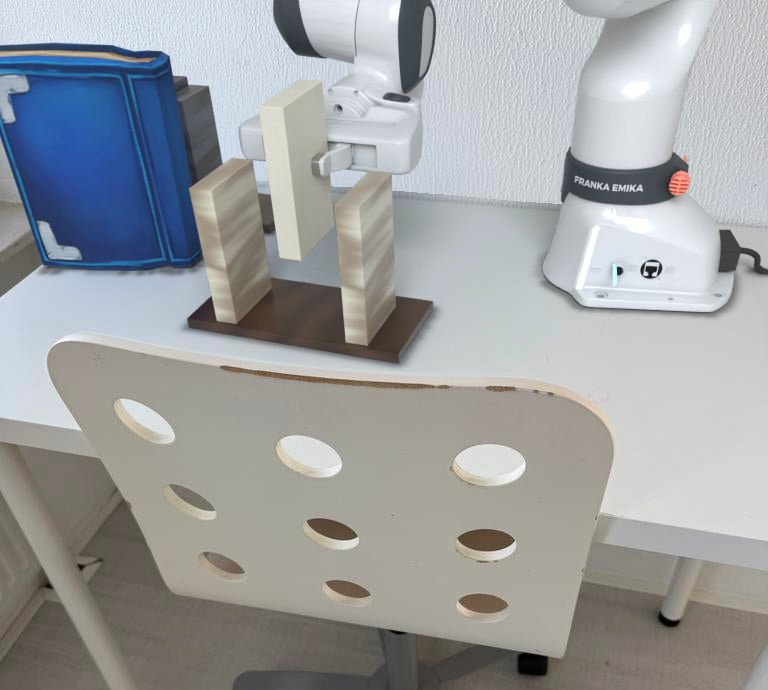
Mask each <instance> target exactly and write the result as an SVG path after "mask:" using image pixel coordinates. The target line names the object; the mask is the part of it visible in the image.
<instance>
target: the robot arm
mask: <svg viewBox="0 0 768 690" xmlns="http://www.w3.org/2000/svg"><path fill="white" fill-rule="evenodd" d="M562 2H563V3H564V4H565V5H566V6H567V7H568V8H569V9H570V10H571V11H573V12H575V13H576V14H578V15H581V16H583V17H590V18H597V19H605V21H604V23H603V26H602V29H601V32H600V34H599V37H598V39H597V41H596V42H595V46H594V48H593V49H592V51H591V53H590V54H589V56H588V58H587V59H586V61H585V63H584V64H583V66H582V69H581V71H580V74H579V77H578V82H577V83H578V84H577V91H576V100H575V108H574V116H573V125H572V133H571V140H570V141H571V142H570V143H571V144H570V146H569V147H568V149H567V151H566V153H565V157H564V160H563V164H562V165H563V166H562V173H561V182H560V201H561V206H560V210H559V214H558V219H557V222H556V226H555V231H554V234H553V237H552V240H551V243H550V246H549V249H548V251H547V254H546V255H545V258H544V261H543V263H542V273H543V275H544V276H545V278H546V279H547V280H548V281H549V282H550V283H552V284H553V285H554V286H556V287H557V288H559V289H561V290H563V291H564V292H567V293H568V294H569V295H570V296H572V297H573V299H574V300H575V301H576V302H577V303H579V304H580V305H581V306H583V307H587V308H588V307H589V308H606V309H625V310H626V309H629V310H647V311H649V310H650V311H669V312H692V313H713V312H715V311H717V310H719V309H721V308H723V306H725V305H726V304H727V302H728V301H729V299H730V298H731V295H732V293H733V287H734V281H735V273H734V272H735V271H736V270H737V268H738V264H739V260H740V257H741V254H743V255H747V256H750V257H751V258H753V259H754V261H753V269H754V270H755V272H757V273H758V274H761V275H767V276H768V269H767V268H765V267H764V266H762V265H761V263H762V262H761V261H762V257H761V255H760V253H759V252H758V251H756V250H754V249H753V248H749V247H748V248H747V247H743V246H741V245H740V243H739V242H738V240H737V239H736V237H735V234H734V233H733V232H732V230H731V229H720V228H719V226H718V223H717V221H716V220H715V218H713V216H712V215H711V214H710V213H708V212H707V211H706V210H705V209H704V208H703V207H702V206H701V205H700V204H699V203H698V202H697V201H696V200H695V199H694V198H693V197H692V196H690V194H689V193H687V192H688V189H689V188H690V182H691V177H690V174H689V167H690V165H689V164H688V160H689V159H688V157H687V155H686V154H684V155H683V158H682V157H681V156H680V155H678V153H676V152H675V151H674V147H675V144H676V138H677V133H678V129H679V124H680V120H681V115H682V111H683V107H684V102H685V97H686V93H687V89H688V85H689V81H690V78H691V75H692V71H693V67H694V66H695V62H696V59H697V56H698V54H699V51H700V48H701V45H702V43H703V41H704V38H705V35H706V33H707V31H708V28H709V25H710V23H711V20H712V18H713V15H714V12H715V10H716V8H717V4H718V2H719V0H562ZM436 14H437V13H436V10H435V7H434V4H433V1H432V0H273V1H272V15H273V20H274V24H275V26H276V29H277V30H278V33H279V34H280V36H281V38H282V39H283V40H284V42H285V43H286V45H287V46H288V47H289V49H290V50H291V51H292V52H293V54H295V55H296V56H299V57H306V58H315V59H324V60H325V59H326V60H327V59H331V60H335V61H339V62H342V63H343V62H344V63H348V64H352V65H353V69H352V71H351V72H350V73H349V74H348V75H346V76H344V77H342V78H341V79H340V80H337V82H335V83H334V84H332V85H331V86H330V87H328V88H327V89H325V90H323V97H324V109H325V121H326V132H327V144H328V152H327V153H325V154H322V153H317V154H316V155H315V156H314V157H313V158H312V159H311V166H312V174H313V175H315V176H323V177H326V176H327V175H329V174H330V175H331V173H335V172H338V171H339V172H340V171H343V170H344V171H346V170H347V171H355V172H365V173H367V172H368V171H371V172H381V173H391V174H392V176H393V175H395V176H403V175H408V174H411V173H412V172H413V171H414V170H415V169H416V167H418V165H419V163H420V160H421V158H422V151H423V139H424V138H423V136H424V134H423V133H424V127H423V126H424V125H423V109H422V104H421V103H422V99H423V96H424V91H425V90H424V89H425V77H426V76H427V74H428V73H429V70H430V67H431V64H432V59H433V56H434V51H435V45H436V35H437V15H436ZM238 140H239V146H240V150H241V153H242V155H243V157H244V159H249V160H253V161H257V162H266V157H265V150H264V143H263V136H262V129H261V122H260V114H259V113H258V114H256V115H254V116H252V117H250V118H247V119H246V120H245V121H242V122H241V123H240V124H239V126H238Z"/></svg>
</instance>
